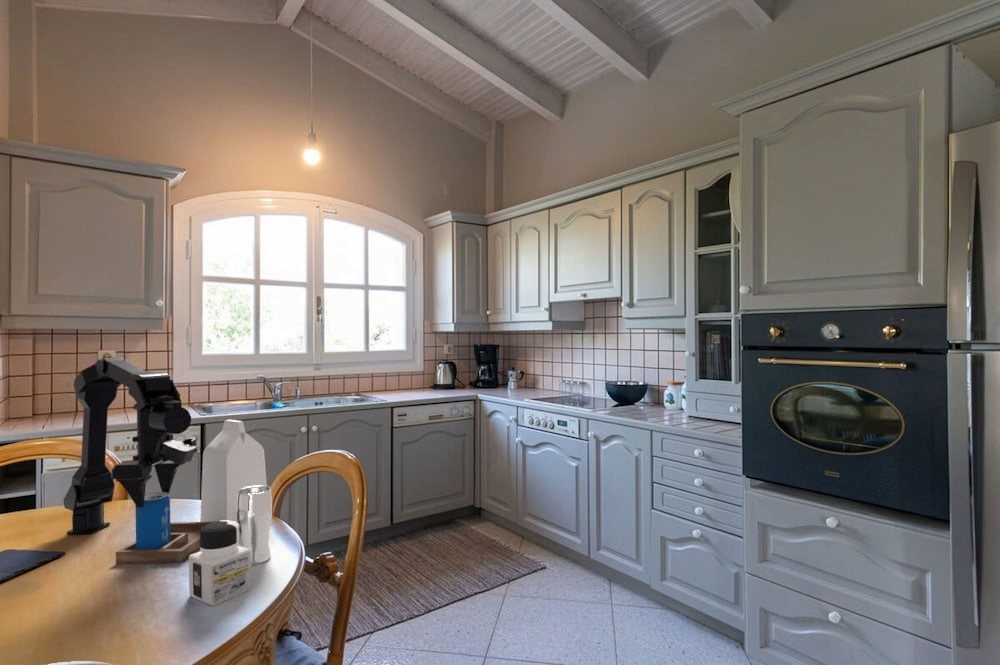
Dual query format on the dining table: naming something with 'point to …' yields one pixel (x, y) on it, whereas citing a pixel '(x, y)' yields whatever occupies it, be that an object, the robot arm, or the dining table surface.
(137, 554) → the tray
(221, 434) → the milk
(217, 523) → the container
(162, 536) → the beverage can
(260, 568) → the dining table surface
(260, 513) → the beer glass
